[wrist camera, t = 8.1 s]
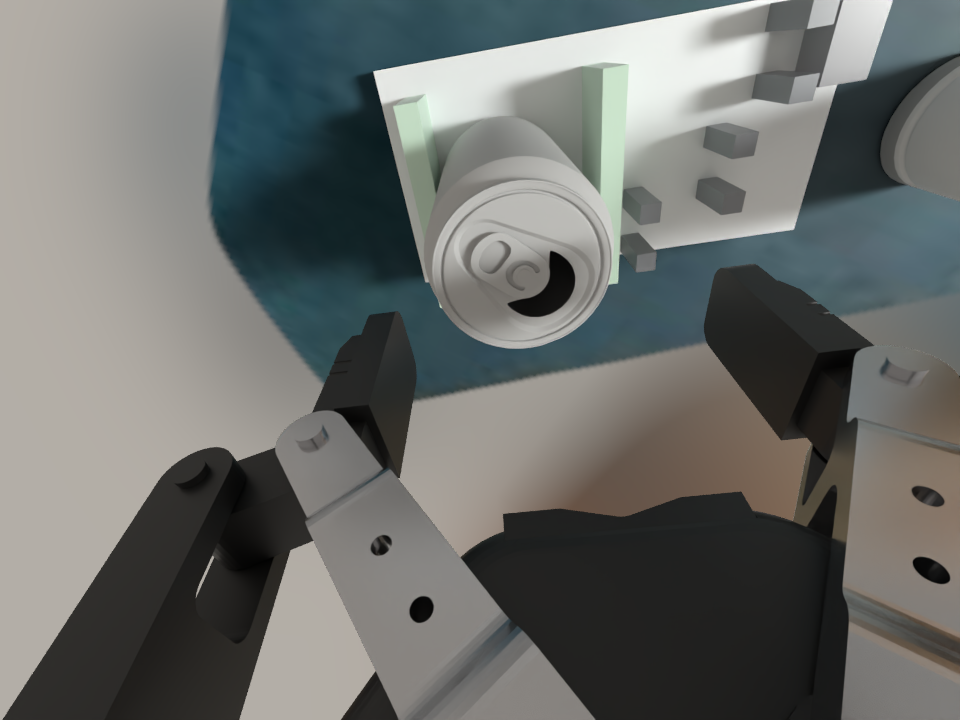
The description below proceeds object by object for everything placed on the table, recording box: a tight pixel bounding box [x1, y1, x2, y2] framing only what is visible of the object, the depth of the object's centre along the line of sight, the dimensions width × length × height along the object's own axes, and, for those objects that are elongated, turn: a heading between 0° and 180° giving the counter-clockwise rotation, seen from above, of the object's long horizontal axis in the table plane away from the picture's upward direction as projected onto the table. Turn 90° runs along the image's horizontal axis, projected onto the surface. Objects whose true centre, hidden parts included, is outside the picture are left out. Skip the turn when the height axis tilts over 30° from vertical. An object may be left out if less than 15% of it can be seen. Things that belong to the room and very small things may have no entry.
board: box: [373, 0, 893, 282], centre depth 21 cm, size 11×22×4 cm, turn 99°
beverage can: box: [424, 116, 614, 348], centre depth 18 cm, size 6×6×12 cm
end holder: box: [393, 62, 629, 308], centre depth 21 cm, size 10×10×4 cm
